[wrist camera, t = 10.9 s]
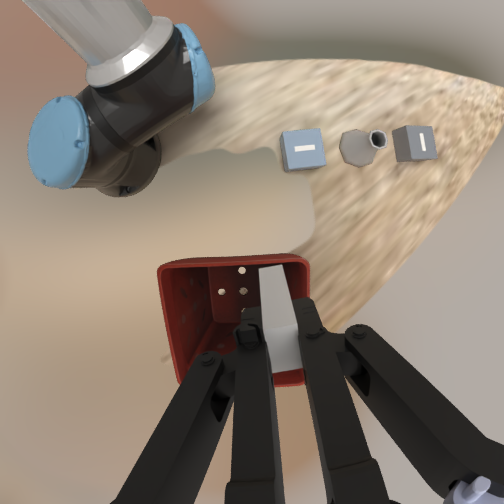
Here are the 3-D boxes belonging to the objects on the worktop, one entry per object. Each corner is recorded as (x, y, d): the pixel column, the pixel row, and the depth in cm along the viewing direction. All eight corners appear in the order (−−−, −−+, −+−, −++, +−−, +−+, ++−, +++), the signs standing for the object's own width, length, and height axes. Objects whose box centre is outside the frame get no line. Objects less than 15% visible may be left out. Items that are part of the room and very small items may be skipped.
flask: (337, 128, 47) (354, 114, 37) (373, 130, 46) (396, 119, 37) (339, 167, 48) (358, 161, 38) (376, 168, 48) (400, 163, 38)
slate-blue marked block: (285, 172, 48) (288, 169, 42) (279, 139, 47) (282, 131, 41) (319, 168, 48) (327, 164, 42) (313, 135, 47) (321, 128, 41)
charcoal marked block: (396, 161, 47) (412, 158, 41) (391, 131, 46) (406, 125, 40) (421, 160, 47) (438, 158, 41) (416, 131, 46) (432, 126, 40)
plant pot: (197, 337, 55) (177, 388, 38) (186, 242, 51) (154, 265, 35) (294, 334, 54) (307, 385, 38) (293, 236, 51) (310, 257, 34)
